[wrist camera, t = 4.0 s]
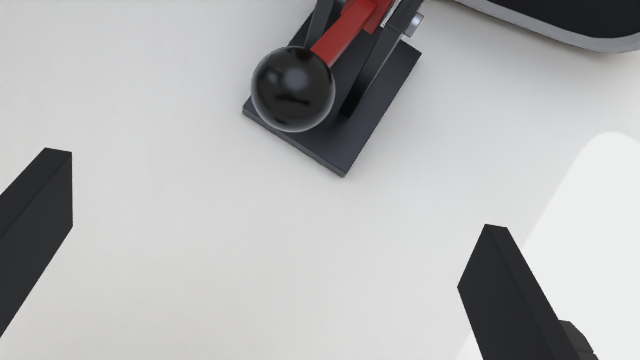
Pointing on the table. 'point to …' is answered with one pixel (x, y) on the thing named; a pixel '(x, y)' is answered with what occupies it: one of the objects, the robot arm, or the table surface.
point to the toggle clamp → (353, 83)
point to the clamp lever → (310, 70)
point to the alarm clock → (573, 20)
